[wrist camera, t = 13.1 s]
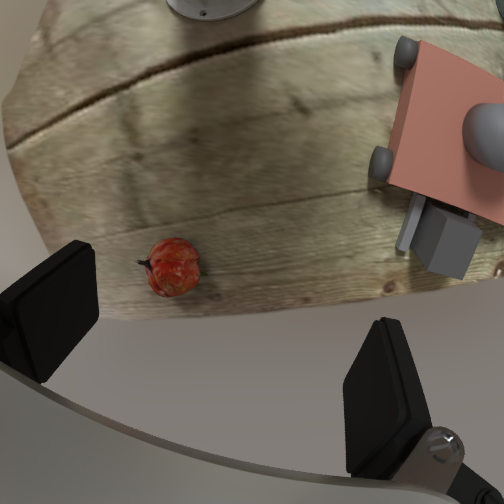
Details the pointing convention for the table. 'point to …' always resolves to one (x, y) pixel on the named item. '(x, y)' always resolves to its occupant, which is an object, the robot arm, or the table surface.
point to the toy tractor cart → (444, 136)
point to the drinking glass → (500, 7)
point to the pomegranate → (172, 267)
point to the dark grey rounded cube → (445, 240)
